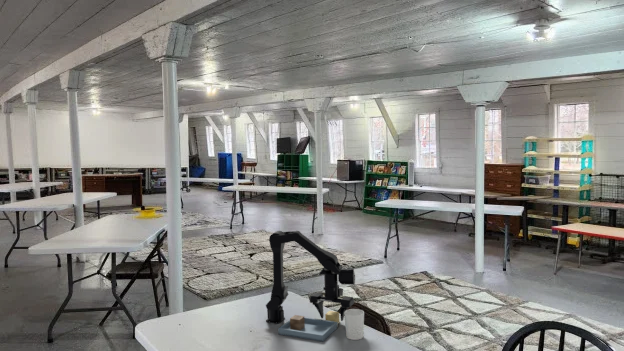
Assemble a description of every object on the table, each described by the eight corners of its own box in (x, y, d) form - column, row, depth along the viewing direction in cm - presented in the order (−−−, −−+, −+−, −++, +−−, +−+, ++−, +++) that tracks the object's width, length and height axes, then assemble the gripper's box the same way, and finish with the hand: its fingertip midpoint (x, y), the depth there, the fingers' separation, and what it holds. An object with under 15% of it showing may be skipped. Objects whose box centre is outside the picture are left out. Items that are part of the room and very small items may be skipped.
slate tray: (278, 334, 192) (278, 328, 192) (295, 321, 206) (295, 315, 205) (322, 341, 183) (322, 335, 183) (337, 327, 197) (337, 321, 197)
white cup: (363, 341, 182) (363, 316, 182) (343, 340, 184) (342, 315, 183) (365, 333, 190) (364, 309, 190) (346, 332, 192) (345, 308, 191)
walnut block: (290, 329, 196) (289, 318, 195) (295, 325, 200) (294, 314, 199) (299, 330, 194) (299, 320, 193) (304, 326, 198) (304, 316, 197)
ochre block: (325, 324, 201) (325, 314, 201) (329, 320, 205) (329, 310, 205) (335, 325, 199) (334, 315, 199) (339, 322, 203) (338, 312, 203)
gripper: (357, 280, 204) (358, 315, 205) (319, 277, 212) (320, 310, 213) (348, 288, 194) (349, 324, 195) (308, 283, 202) (309, 319, 203)
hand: (332, 319), depth 202 cm, fingers open, 9 cm apart
